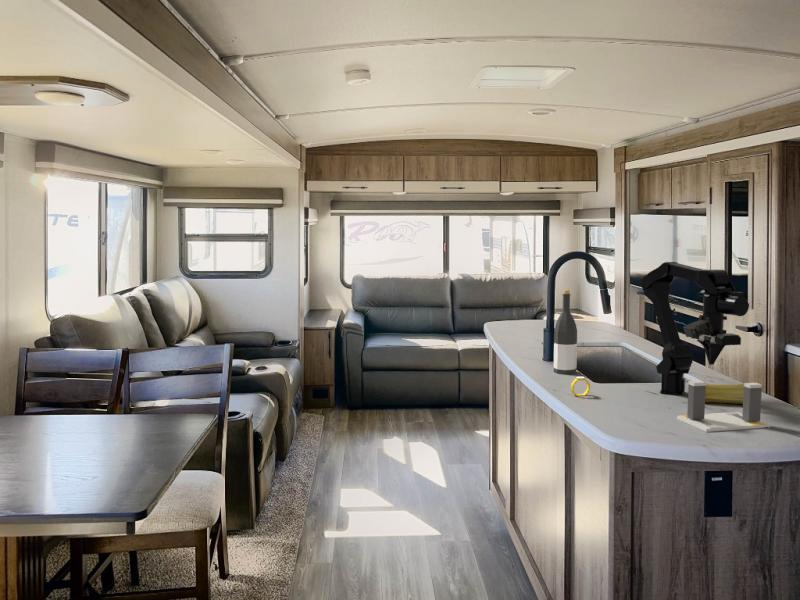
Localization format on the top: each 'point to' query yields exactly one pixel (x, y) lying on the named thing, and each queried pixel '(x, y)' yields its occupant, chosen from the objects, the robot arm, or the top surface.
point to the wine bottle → (565, 340)
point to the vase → (724, 393)
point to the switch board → (722, 422)
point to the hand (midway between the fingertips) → (711, 364)
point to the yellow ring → (574, 384)
